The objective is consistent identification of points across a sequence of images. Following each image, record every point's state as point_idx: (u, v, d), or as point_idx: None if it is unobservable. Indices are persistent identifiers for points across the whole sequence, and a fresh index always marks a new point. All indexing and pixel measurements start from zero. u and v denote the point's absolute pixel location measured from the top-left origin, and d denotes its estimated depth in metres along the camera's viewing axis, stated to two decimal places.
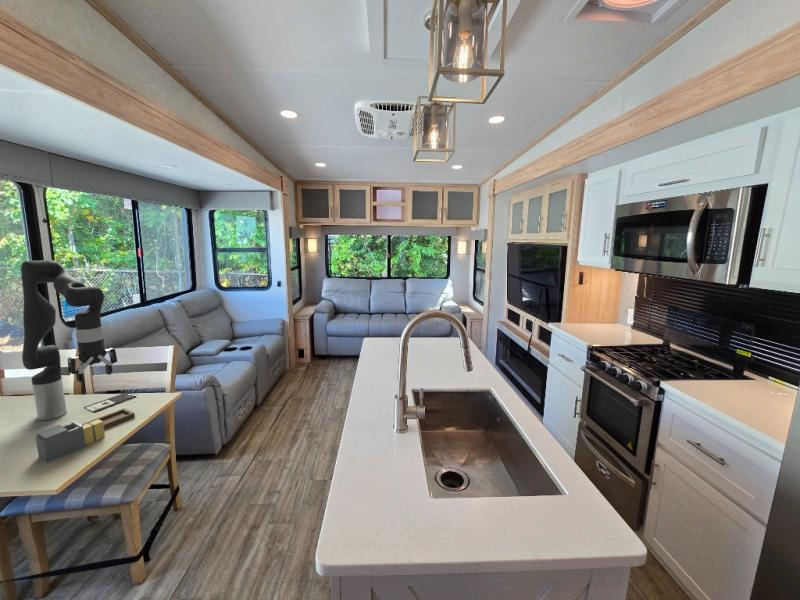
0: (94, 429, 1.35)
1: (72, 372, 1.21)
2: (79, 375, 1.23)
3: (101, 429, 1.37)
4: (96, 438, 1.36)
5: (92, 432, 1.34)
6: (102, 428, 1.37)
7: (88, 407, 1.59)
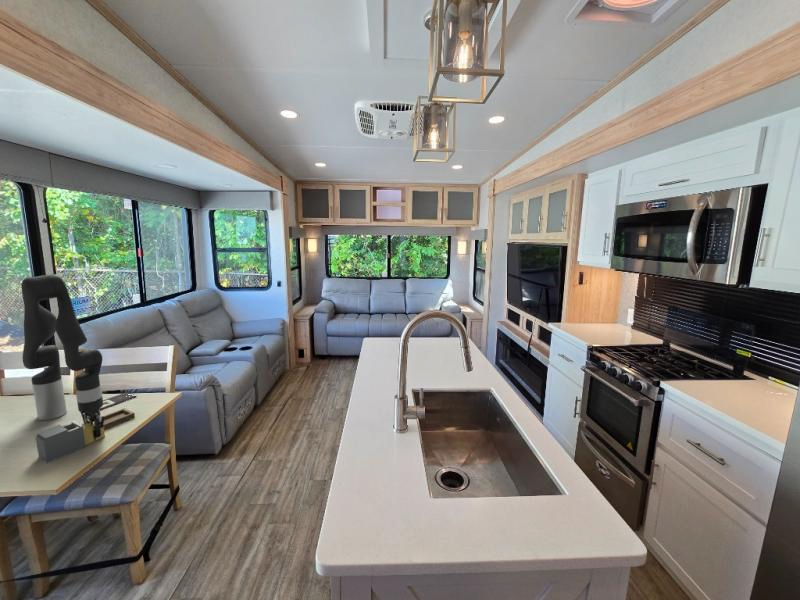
0: None
1: (102, 426, 1.35)
2: None
3: (101, 429, 1.37)
4: (96, 438, 1.36)
5: (92, 432, 1.34)
6: (102, 428, 1.37)
7: None
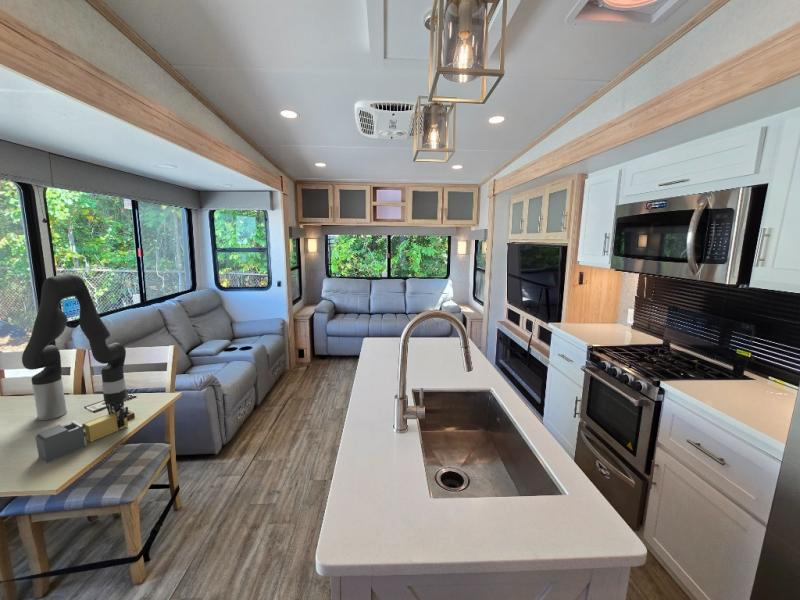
0: None
1: (126, 416, 1.42)
2: None
3: (124, 419, 1.45)
4: (120, 427, 1.43)
5: (116, 422, 1.42)
6: (125, 418, 1.45)
7: (88, 407, 1.59)
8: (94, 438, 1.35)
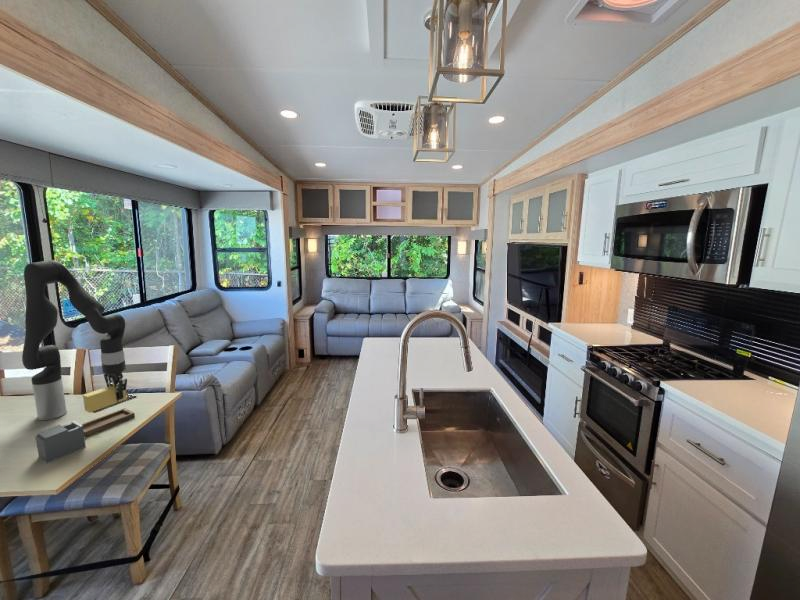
0: None
1: (125, 388, 1.41)
2: None
3: (123, 392, 1.43)
4: (119, 400, 1.42)
5: (115, 394, 1.40)
6: (124, 391, 1.43)
7: None
8: (92, 409, 1.34)
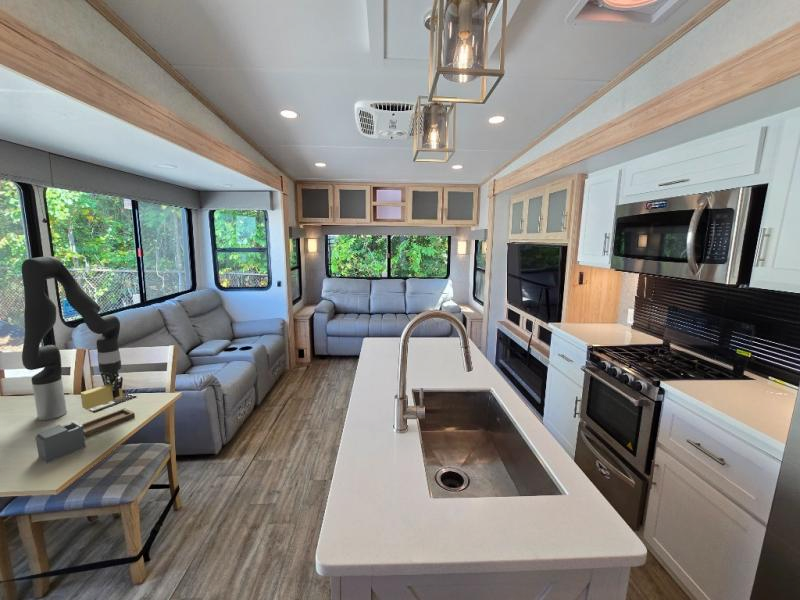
0: None
1: None
2: None
3: (120, 390, 1.49)
4: (115, 398, 1.48)
5: (112, 392, 1.46)
6: (120, 389, 1.49)
7: None
8: (90, 406, 1.39)
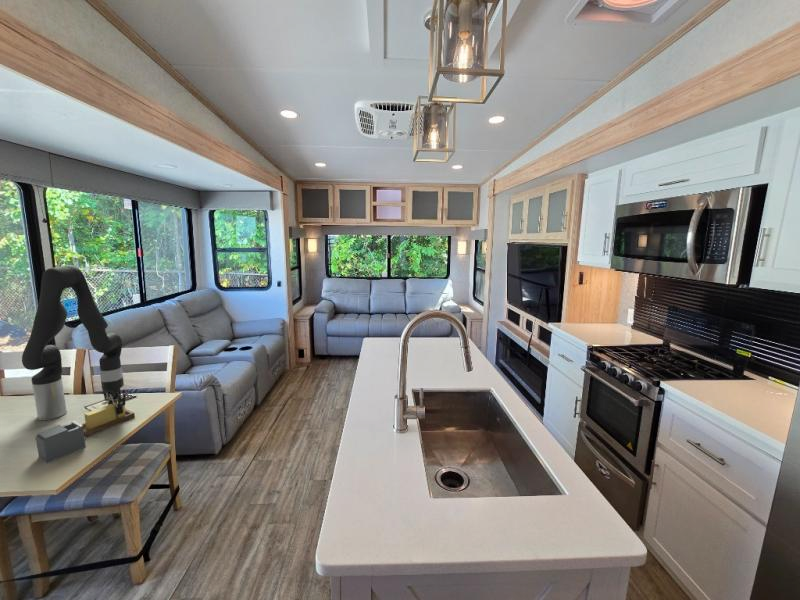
0: None
1: None
2: None
3: None
4: (118, 417, 1.50)
5: (115, 412, 1.48)
6: (123, 409, 1.51)
7: (88, 407, 1.59)
8: (93, 427, 1.42)
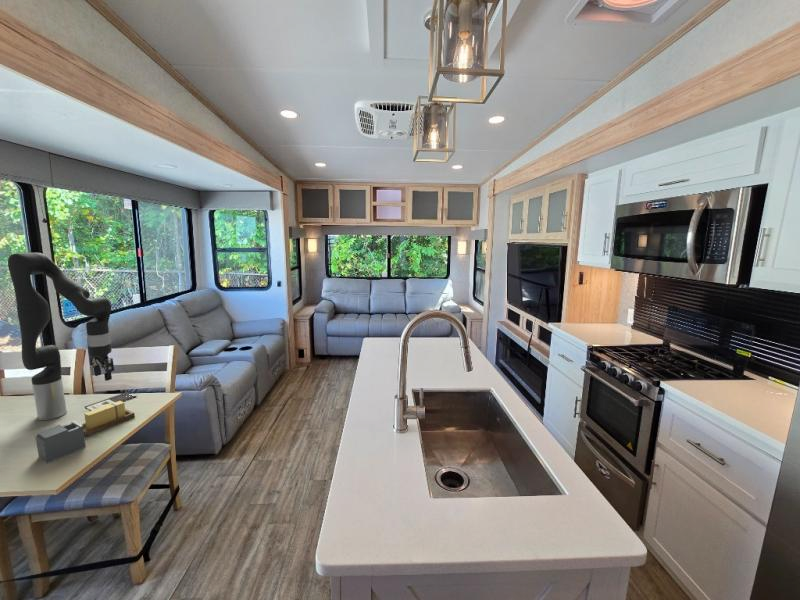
0: (117, 409, 1.49)
1: (113, 369, 1.43)
2: None
3: (122, 409, 1.51)
4: (118, 417, 1.50)
5: (115, 412, 1.48)
6: (123, 409, 1.51)
7: (88, 407, 1.59)
8: (93, 427, 1.42)
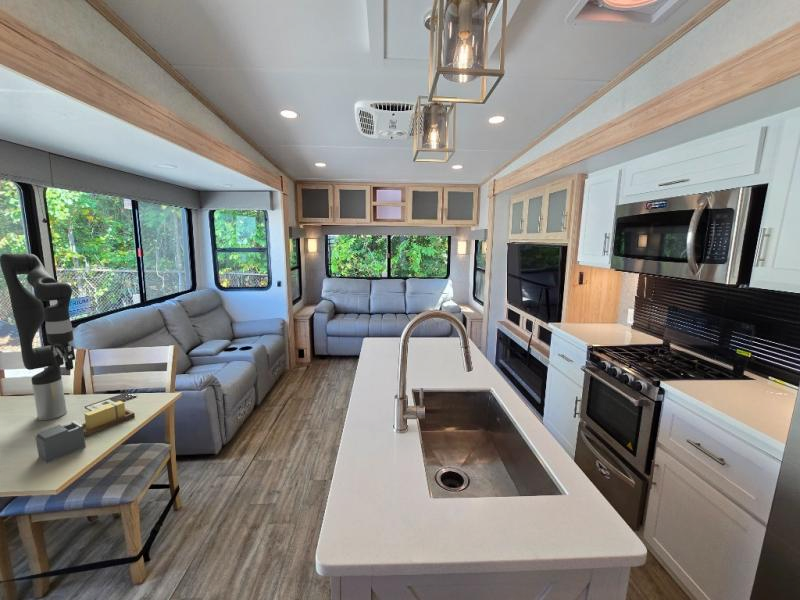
0: (117, 409, 1.49)
1: (74, 358, 1.36)
2: None
3: (122, 409, 1.51)
4: (118, 417, 1.50)
5: (115, 412, 1.48)
6: (123, 409, 1.51)
7: (88, 407, 1.59)
8: (93, 427, 1.42)
